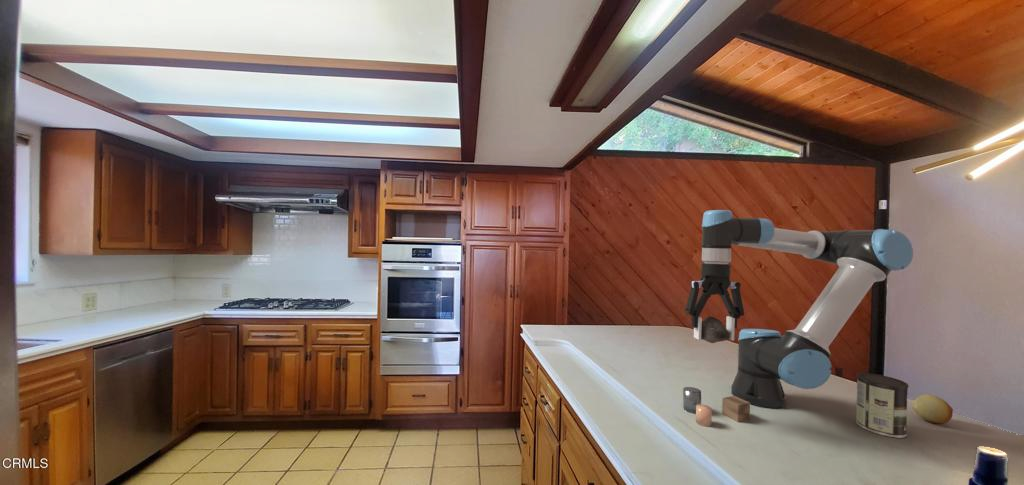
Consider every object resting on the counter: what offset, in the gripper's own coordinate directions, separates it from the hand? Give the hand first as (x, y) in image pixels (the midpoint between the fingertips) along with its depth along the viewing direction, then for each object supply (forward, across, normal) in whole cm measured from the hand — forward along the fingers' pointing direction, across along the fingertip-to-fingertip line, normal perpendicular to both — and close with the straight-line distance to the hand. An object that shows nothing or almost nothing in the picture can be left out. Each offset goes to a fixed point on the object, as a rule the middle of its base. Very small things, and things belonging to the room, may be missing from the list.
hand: (713, 338), depth 107 cm
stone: (+1, 0, 0) cm, 1 cm away
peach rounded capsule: (+23, +4, +3) cm, 24 cm away
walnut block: (+24, -8, -1) cm, 25 cm away
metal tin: (+23, +3, -5) cm, 24 cm away
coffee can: (+24, -46, +5) cm, 52 cm away
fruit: (+24, -66, +1) cm, 70 cm away
